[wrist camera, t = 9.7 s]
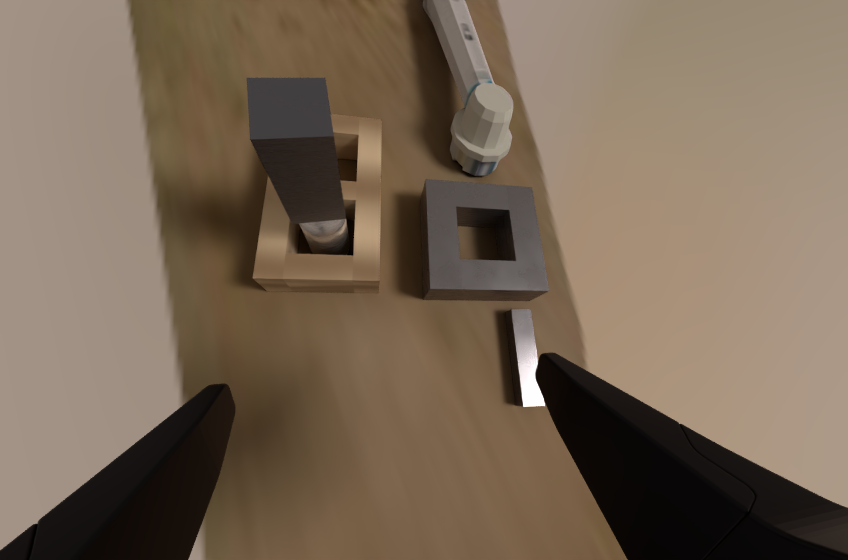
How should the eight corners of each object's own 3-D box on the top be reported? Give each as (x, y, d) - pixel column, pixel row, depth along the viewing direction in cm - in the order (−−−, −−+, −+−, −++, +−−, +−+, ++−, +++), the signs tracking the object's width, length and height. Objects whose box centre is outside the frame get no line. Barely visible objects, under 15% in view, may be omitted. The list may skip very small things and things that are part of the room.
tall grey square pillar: (352, 259, 24) (333, 136, 12) (312, 264, 23) (250, 139, 11) (347, 225, 25) (325, 77, 13) (308, 229, 24) (246, 78, 12)
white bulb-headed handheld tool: (464, -42, 33) (542, 111, 23) (450, 30, 39) (508, 178, 29) (416, -47, 32) (476, 111, 22) (410, 27, 38) (455, 179, 28)
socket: (529, 300, 26) (549, 290, 23) (423, 299, 24) (430, 288, 21) (515, 206, 28) (531, 187, 26) (420, 200, 27) (425, 179, 24)
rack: (378, 292, 24) (379, 280, 21) (267, 291, 22) (252, 278, 19) (380, 145, 28) (381, 119, 25) (288, 137, 27) (278, 108, 24)
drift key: (535, 404, 23) (544, 405, 22) (515, 405, 23) (523, 406, 22) (523, 312, 25) (530, 309, 24) (504, 312, 25) (511, 309, 24)
